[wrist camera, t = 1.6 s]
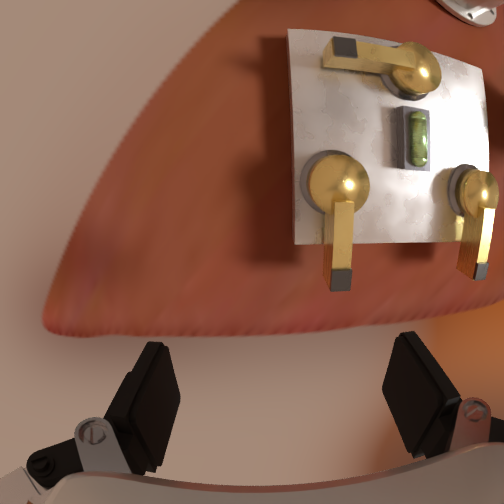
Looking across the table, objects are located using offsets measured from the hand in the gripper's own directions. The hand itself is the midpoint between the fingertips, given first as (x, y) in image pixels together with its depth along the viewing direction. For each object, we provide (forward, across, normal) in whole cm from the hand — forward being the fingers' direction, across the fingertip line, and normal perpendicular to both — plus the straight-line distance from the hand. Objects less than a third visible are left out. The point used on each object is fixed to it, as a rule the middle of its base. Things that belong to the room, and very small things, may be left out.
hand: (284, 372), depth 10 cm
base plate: (+16, -12, -10) cm, 22 cm away
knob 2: (+14, -19, -3) cm, 24 cm away
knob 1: (+14, -5, -3) cm, 15 cm away
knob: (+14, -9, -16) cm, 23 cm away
